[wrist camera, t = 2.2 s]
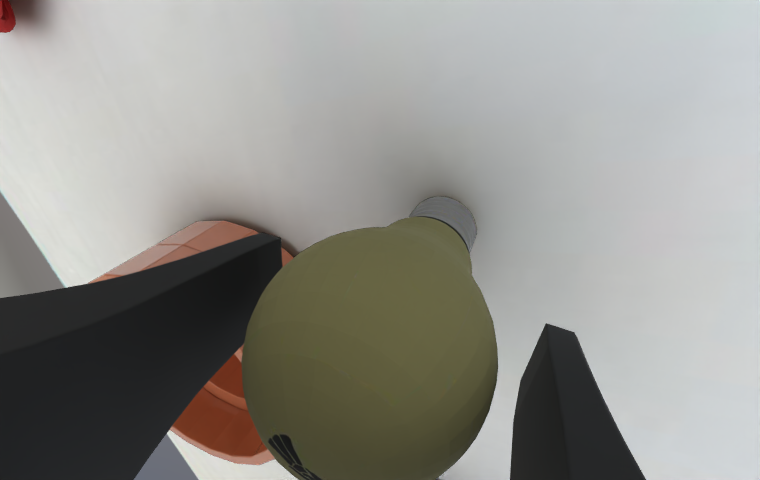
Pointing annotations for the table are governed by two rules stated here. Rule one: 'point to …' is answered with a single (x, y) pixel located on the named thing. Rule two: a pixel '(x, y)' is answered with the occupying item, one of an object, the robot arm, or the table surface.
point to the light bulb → (374, 351)
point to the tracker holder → (6, 17)
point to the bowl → (225, 389)
